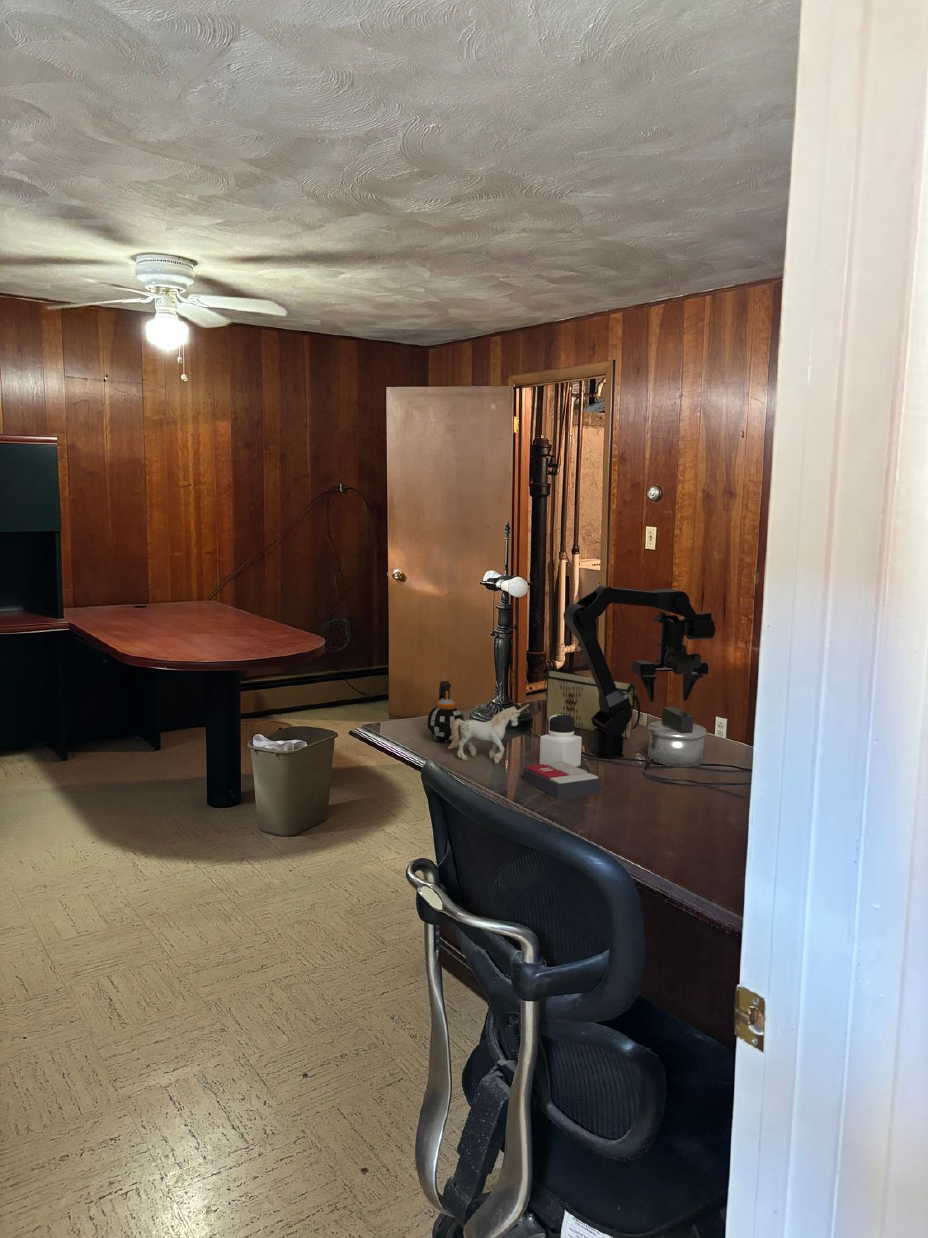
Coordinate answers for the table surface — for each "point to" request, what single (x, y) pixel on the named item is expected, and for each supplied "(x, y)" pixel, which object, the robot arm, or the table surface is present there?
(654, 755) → the grey cylinder drum
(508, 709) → the unicorn figurine
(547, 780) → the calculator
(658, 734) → the lid
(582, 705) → the clutch purse
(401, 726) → the table surface
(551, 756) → the medicine bottle
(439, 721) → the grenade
